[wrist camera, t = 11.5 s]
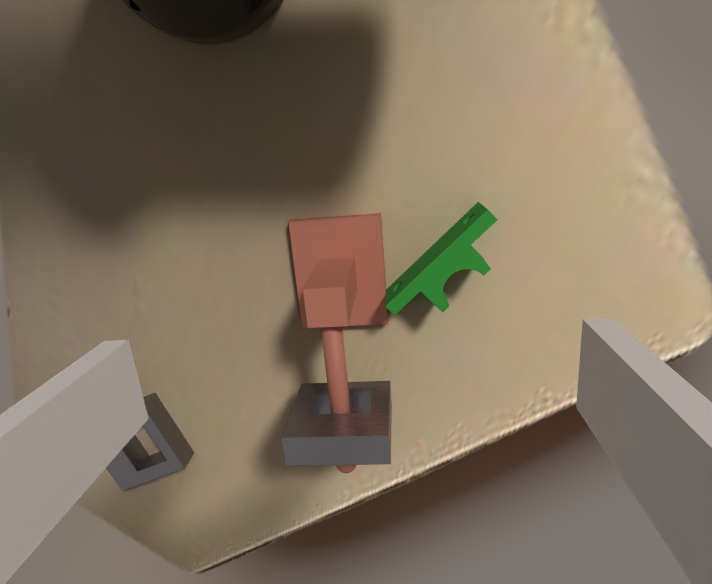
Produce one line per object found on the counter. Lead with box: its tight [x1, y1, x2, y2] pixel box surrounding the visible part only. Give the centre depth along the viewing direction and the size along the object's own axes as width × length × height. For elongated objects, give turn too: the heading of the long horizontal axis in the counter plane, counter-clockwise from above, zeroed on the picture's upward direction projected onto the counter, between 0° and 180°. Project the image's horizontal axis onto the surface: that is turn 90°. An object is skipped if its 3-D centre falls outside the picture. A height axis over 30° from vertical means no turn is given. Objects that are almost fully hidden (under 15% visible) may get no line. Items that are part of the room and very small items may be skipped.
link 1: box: [106, 393, 194, 491], centre depth 49 cm, size 8×8×2 cm
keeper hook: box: [288, 213, 388, 473], centre depth 40 cm, size 20×8×10 cm, turn 5°
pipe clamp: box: [385, 202, 497, 315], centre depth 40 cm, size 11×4×5 cm, turn 137°
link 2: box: [281, 381, 392, 466], centre depth 39 cm, size 2×8×8 cm, turn 95°
